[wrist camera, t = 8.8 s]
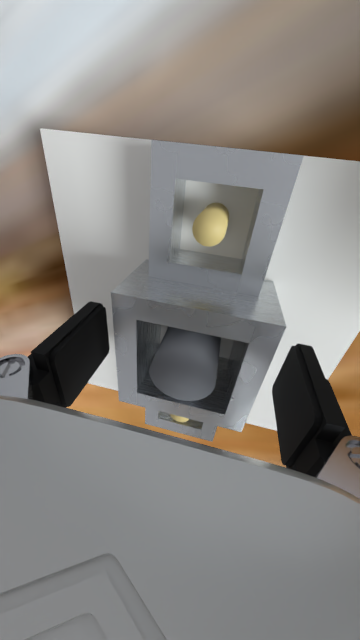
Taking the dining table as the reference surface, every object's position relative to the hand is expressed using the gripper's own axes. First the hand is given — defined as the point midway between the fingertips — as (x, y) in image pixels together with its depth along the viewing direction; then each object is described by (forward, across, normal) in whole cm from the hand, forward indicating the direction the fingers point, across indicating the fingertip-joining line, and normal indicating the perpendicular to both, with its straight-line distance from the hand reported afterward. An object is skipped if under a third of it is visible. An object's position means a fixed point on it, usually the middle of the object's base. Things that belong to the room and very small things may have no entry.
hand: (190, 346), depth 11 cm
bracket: (+2, 0, 0) cm, 2 cm away
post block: (+4, 0, 0) cm, 4 cm away
